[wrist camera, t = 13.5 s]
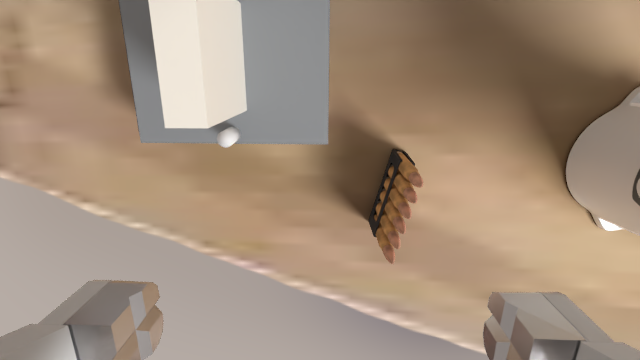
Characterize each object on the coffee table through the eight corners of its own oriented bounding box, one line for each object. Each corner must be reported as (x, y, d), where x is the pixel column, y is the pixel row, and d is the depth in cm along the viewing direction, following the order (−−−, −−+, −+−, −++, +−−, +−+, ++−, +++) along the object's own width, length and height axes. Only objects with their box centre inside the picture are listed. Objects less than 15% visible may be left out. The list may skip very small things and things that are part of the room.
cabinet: (329, -18, 39) (330, -52, 28) (327, 131, 44) (328, 150, 33) (149, -18, 39) (84, -52, 28) (168, 130, 44) (118, 148, 33)
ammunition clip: (392, 148, 44) (415, 174, 33) (406, 152, 44) (433, 179, 33) (368, 221, 47) (381, 268, 36) (381, 224, 47) (398, 272, 36)
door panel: (240, 3, 32) (192, -37, 21) (246, 110, 35) (207, 128, 24) (209, 3, 32) (143, -36, 21) (217, 110, 35) (164, 128, 24)
